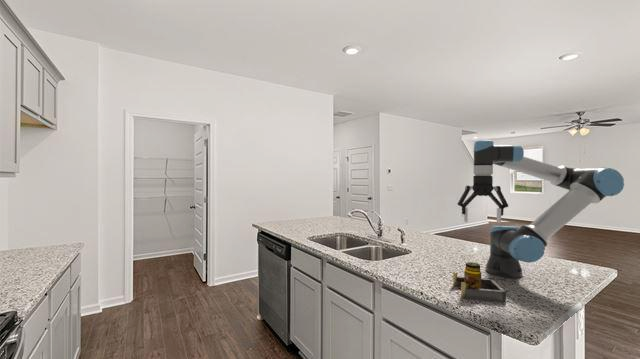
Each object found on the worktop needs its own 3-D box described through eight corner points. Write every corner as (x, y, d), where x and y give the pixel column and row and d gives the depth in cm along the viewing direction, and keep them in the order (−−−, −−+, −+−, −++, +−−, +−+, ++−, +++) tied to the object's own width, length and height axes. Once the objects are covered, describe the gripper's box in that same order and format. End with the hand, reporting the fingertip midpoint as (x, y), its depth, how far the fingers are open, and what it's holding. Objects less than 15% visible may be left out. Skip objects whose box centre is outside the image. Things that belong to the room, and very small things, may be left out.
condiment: (464, 295, 114) (465, 265, 113) (460, 287, 122) (460, 259, 122) (485, 297, 112) (486, 267, 112) (479, 289, 120) (479, 261, 120)
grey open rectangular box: (491, 288, 121) (492, 274, 121) (506, 302, 107) (506, 287, 107) (452, 285, 124) (452, 271, 124) (461, 298, 111) (461, 283, 110)
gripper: (510, 175, 129) (509, 222, 130) (451, 174, 134) (450, 219, 135) (518, 175, 122) (516, 224, 122) (455, 174, 127) (454, 222, 128)
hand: (482, 222), depth 129 cm, fingers open, 13 cm apart
